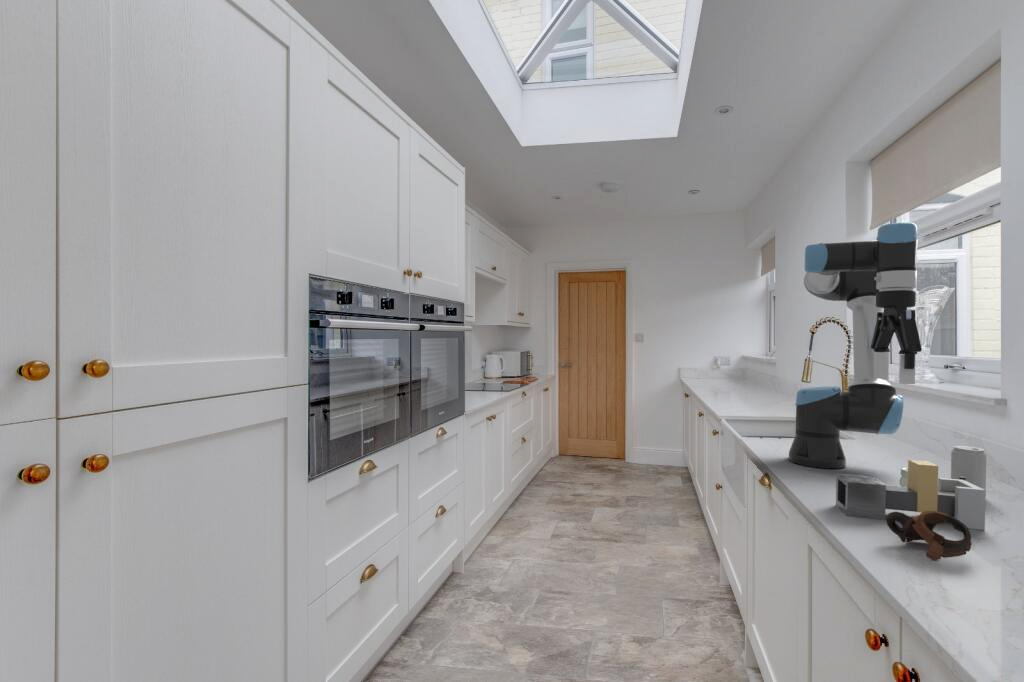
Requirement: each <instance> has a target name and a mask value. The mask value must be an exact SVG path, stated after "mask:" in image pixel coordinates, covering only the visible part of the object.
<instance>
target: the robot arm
mask: <svg viewBox="0 0 1024 682" xmlns="http://www.w3.org/2000/svg"><path fill="white" fill-rule="evenodd" d="M876 236H877V237H876V240H865V241H864V240H863V241H862V240H861V241H848V242H847V241H846V242H830V243H829V242H827V243H823V242H820V243H816V244H815V243H814V244H808V245H807V246H806V247H805V249H804V271H805V272H806V273H805V275H804V277H803V284H804V287H805V289H806V291H807V292H808V293H810V295H812V296H815V297H817V298H819V299H822V300H826V301H834V302H846V307H847V309H849V310H850V311H852V343H853V344H852V345H853V346H852V349H853V352H852V353H853V382H852V383H851V384H850V385H848V387H847V390H848V391H842V388H841V387H840V386H816V387H814V386H813V387H805V388H801V389H799V390H798V391H797V393H796V397H795V399H796V400H795V407H796V408H795V409H796V410H795V435H794V438H793V441H792V442H791V446H790V448H789V450H788V461H789V460H790V462H791V463H793V462H794V463H793V464H796V463H797V465H801V466H804V467H805V466H806V467H810V466H811V468H817V467H819V469H829V468H838V469H843V467H844V468H846V467H847V457H846V455H845V453H844V452H845V451H844V449H843V446H842V443H841V440H840V435H841V433H840V432H841V431H842V432H843V431H844V432H853V433H863V434H864V433H867V434H875V435H894V434H896V433H897V432H898V430H899V428H900V427H901V423H902V420H903V419H902V418H903V411H904V397H903V395H900V393H899V394H898V393H897V391H896V390H897V389H896V387H895V386H894V385H893V384H891V383H890V381H889V380H890V378H889V364H890V363H889V362H890V361H889V360H890V358H889V357H890V356H889V355H890V352H891V350H890V348H889V347H890V345H891V344H890V343H891V341H892V338H893V337H894V334H895V336H896V339H897V343H898V345H899V347H900V350H899V351H898V355H899V365H898V368H899V369H898V370H899V371H898V384H900V385H915V384H916V383H915V382H916V355H917V354H918V353H920V352H922V351H923V350H922V344H921V340H920V335H919V331H918V330H919V329H918V324H917V320H916V311H915V309H908V308H913V307H915V306H916V303H917V298H916V297H917V292H916V291H915V290H914V289H916V288H917V274H918V270H917V256H918V254H917V252H918V239H919V235H918V226H917V225H916V224H915V223H914V222H893V223H892V222H891V223H888V224H884V225H881V226H880V227H879V228H878V230H877V235H876ZM845 466H846V467H845Z"/></svg>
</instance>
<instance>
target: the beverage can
mask: <svg viewBox="0 0 1024 682" xmlns="http://www.w3.org/2000/svg"><path fill="white" fill-rule="evenodd" d="M950 453H951V454H950V479H959V477H965V481H967V482H969V483H971V484H973V485H976V486H978V487H980V488H982V489H984V490H987V453H985V449H983V448H981V447H976V446H967V445H953V449H952V450H951V451H950ZM986 496H987V495H985V498H986Z"/></svg>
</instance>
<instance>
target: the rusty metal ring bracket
mask: <svg viewBox="0 0 1024 682" xmlns="http://www.w3.org/2000/svg"><path fill="white" fill-rule="evenodd" d="M885 522H886V524H887V527H888V528H889V529H890V531H891V532H892V533H894V534H895V535H897V536H898V538H899V539H900V542H902V543H907V542H909V543H910V542H914V541H924V542H925V543H926V544H928V545H929V547H928V549H927V551H926V552H925V556H926V557H927V558H928V559H929V560H931V561H934V562H937V561H939V560H941V558H944V559H947V558H954V557H961V556H965V555H967V552H970V551H971V548H972V545H973V544H972V534H971V531H970V530H969V528H967V527H966V525H964V524H963V523H962V522H961V521H959V520H958V519H956V518H954V517H953V516H950V515H947V514H945V513H942V512H938V511H925V512H922V513H920V514H918V515H914V516H909V515H907V514H906V513H904V512H900V511H892V512H889V513H888V514H887V516H885ZM897 522H898V523H899V524H900V525H901V526H902V527H900V525H898V523H897ZM946 522H948V523H949V524H950V525H952V527H953V529H954V530H956V531H958V532H960V533H962V534H963V538H962V539H960V540H952V539H947V538H945V537H944V536H943V534H939V533H937V532H936V531H934V528H935V527H936V526H937V525H943V524H945V523H946Z"/></svg>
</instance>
